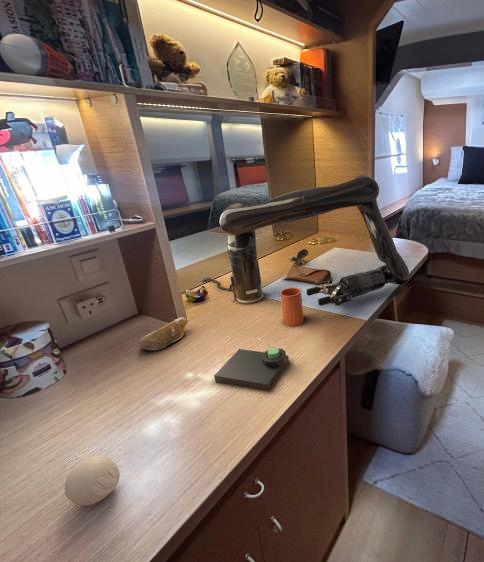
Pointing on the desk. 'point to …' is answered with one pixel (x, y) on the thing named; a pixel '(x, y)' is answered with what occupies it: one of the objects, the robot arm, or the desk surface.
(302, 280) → the sunglasses case
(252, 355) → the scale
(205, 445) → the desk surface
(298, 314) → the cup
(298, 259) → the eagle figurine
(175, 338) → the stone
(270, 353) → the scale button
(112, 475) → the tan rounded lump
